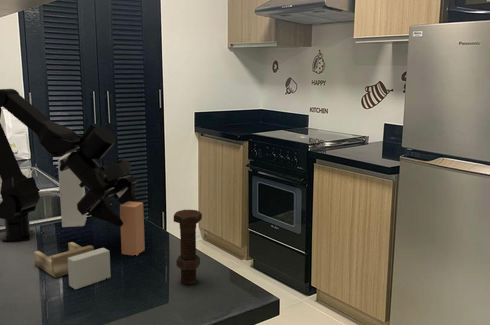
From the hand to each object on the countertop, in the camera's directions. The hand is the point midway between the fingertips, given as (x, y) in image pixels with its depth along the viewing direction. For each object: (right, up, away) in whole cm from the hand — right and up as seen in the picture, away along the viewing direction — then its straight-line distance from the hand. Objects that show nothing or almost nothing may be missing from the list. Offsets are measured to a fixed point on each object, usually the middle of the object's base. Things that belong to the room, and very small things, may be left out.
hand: (132, 219), depth 114 cm
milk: (-22, -4, +22) cm, 31 cm away
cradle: (-13, -10, -7) cm, 18 cm away
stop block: (-5, -11, -15) cm, 19 cm away
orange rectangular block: (0, -8, +2) cm, 8 cm away
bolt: (+15, -12, -14) cm, 24 cm away
